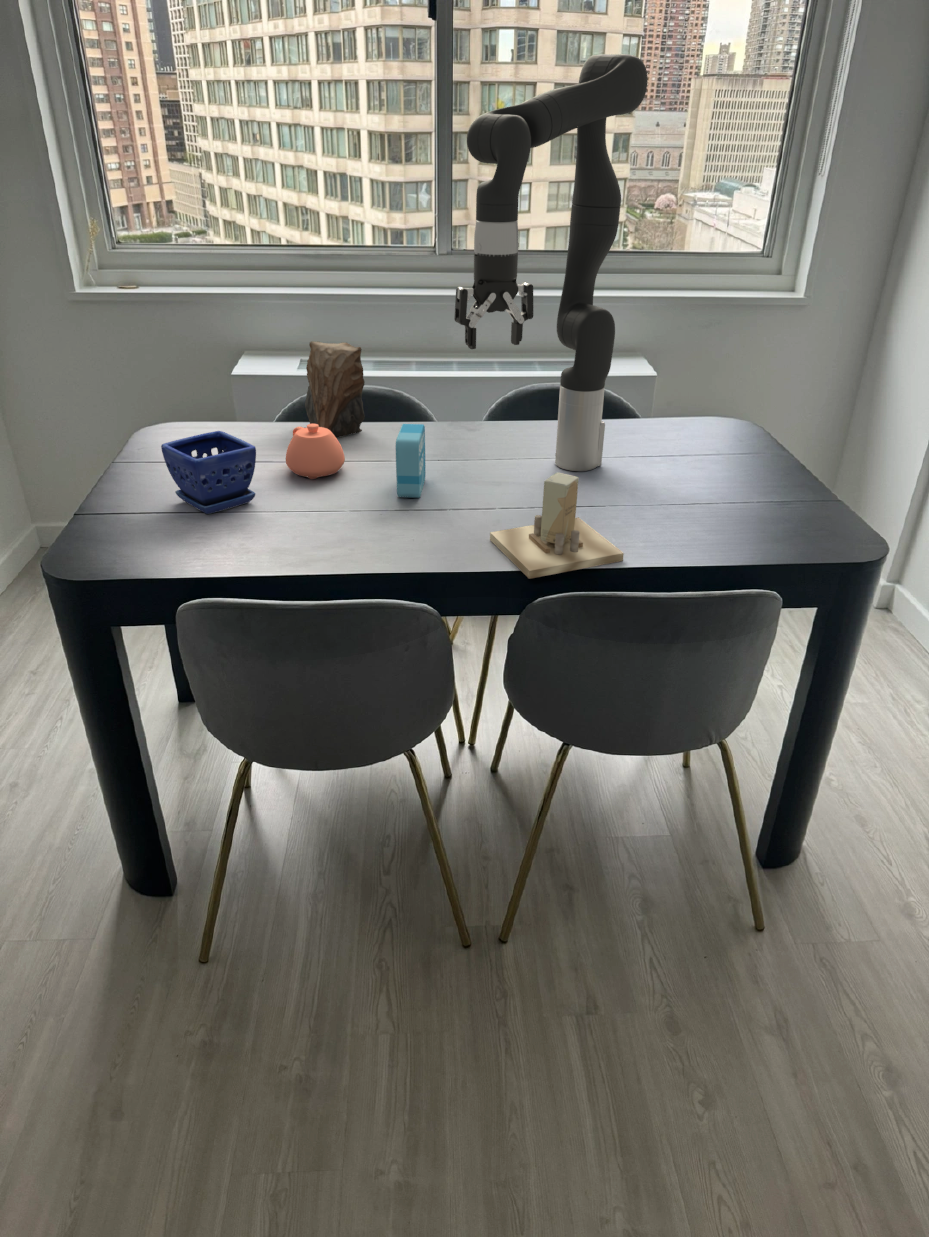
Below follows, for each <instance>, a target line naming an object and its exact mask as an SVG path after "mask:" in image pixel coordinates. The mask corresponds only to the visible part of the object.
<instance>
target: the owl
mask: <svg viewBox="0 0 929 1237" xmlns="http://www.w3.org/2000/svg"><path fill="white" fill-rule="evenodd" d="M309 348H310V352H309V355H308V359H307V362H306V378H307V381H308V386H307V390H306V398H305V401H304V407H305V411H306V416H307V418H308V421H309V424H318V425H319V427H323V428H327V429H329V430H330V431H331V432H332V433H333V434H334V436H335V437H336V438H337V439H338V438H340V437H341V438H342V437H346V436H350V435H353V434H354V435H356V434H360V433H361V432H362V431H363V429H361V425H362V422H364V420H365V412H364V402H363V400H362V395H363V390H364V387H365V385H366V384H365V382H366V381H365V379H364V366H363V363H362V359H361V357H362V356H361V355H362V347H361V346H358V347H356V346H354V345H352V344H350V343H348V342H340V343H333V342H332V343H329V342H328V343H325V342H321V341H313V340H312V341H309Z"/></svg>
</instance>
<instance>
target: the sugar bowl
mask: <svg viewBox="0 0 929 1237" xmlns="http://www.w3.org/2000/svg"><path fill="white" fill-rule="evenodd" d="M285 452H286V453H285V464H286V466H287V468H289V470H290V471H292V472H293V473H294V474H296V475H297V476H300V477H301V476H302V477H306V478H308V479H310V480H316V479H318V478H320V477H326V476H327V477H328V476H330V475H333V474H336V473H337V472H338V471H340V469H341V468H342V467H343V465H344V463H345V460H346V459H345V458H346V457H345V453H344V449H343V447H342V445H341V443H340V441H339V440H338V438H336V437H335V436H334V434H333V433H332V432H331V431H330V430H329V429H327V428H323V427H319V425H318V424H310V423H309V424H307V425H306V427H302V426H296V427H294V428H293V429H292V438H291V440H290V441H289V443H288V446H287V448H286V451H285Z"/></svg>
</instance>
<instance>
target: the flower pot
mask: <svg viewBox="0 0 929 1237" xmlns="http://www.w3.org/2000/svg"><path fill="white" fill-rule="evenodd" d="M160 447H161V452H162V456H163V460H164V462H165V464H166V465H165V466H166V467H167V470H168V472H169V474H170V476H171V478H172V480H173V482H174V483H175V485H176V486H177V487H178V488H179V489H177V490H175V494H176V496H177V497H178V498H180V500H182V501H183V502H185V503H187V504H188V505H189V506H192V507H193V508H195V509H197V510H199V511H201V512H202V513H204V514H205V515H211V514H214V513H215V514H216V513H218V512H221V511H226V510H229V509H232V508H235V507H238V506H241V505H245V504H247V503H250V502H251V501H252V500H254V498H255V496H256V492H255V491H253V490H251V489H249V487H250V485H251V482H252V480H253V477H254V473H255V468H256V461H257V460H256V459H257V448H256V446H255V445H253V444H251V443H249V442H247V441H245V440H243V439H241V438H239V437H237V436H234V435H231V434H230V433H227V432H224V431H222V430H215V431H211V432H205V433H202V434H201V433H200V434H195V435H191V436H188V437H183V438H179V439H176V440H172V441H168V442H165V443H162V444H161V446H160ZM213 449H216V450H217V454H213V453H212V450H213ZM194 451H196V455H194V456H193V452H194ZM204 454H206V456H205V457H204Z"/></svg>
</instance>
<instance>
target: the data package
mask: <svg viewBox="0 0 929 1237" xmlns="http://www.w3.org/2000/svg"><path fill="white" fill-rule="evenodd" d="M398 431H399V432H398V434H397V437H396V440H395V469H396V470H395V471H396V472H395V474H396V494H397V495H396V497H397V498H411V499H413V498H414V499H415V498H416V499H418V498H421V496H422V492H423V488H424V485H425V480H426V426H425V424H423V423H421V424H419V423H418V424H417V423H402V424H401V427H400V430H398Z"/></svg>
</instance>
